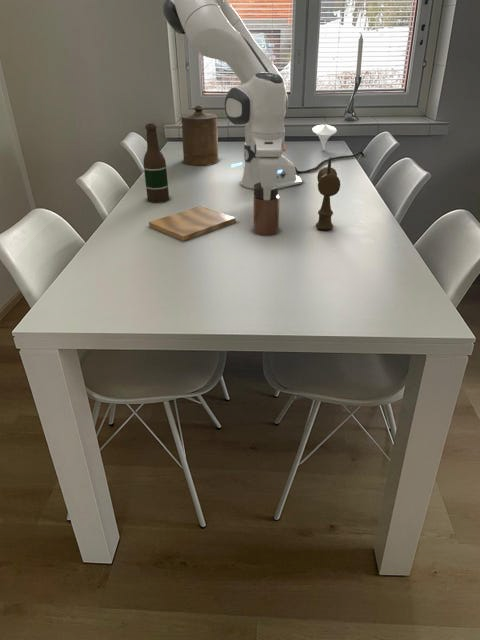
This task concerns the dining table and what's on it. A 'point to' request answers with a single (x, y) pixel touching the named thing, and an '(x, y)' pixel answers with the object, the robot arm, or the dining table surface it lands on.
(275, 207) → the jar
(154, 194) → the beer bottle
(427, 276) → the dining table surface
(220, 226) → the board
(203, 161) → the wooden container
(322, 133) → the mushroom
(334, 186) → the kendama
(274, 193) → the lid
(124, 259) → the dining table surface
